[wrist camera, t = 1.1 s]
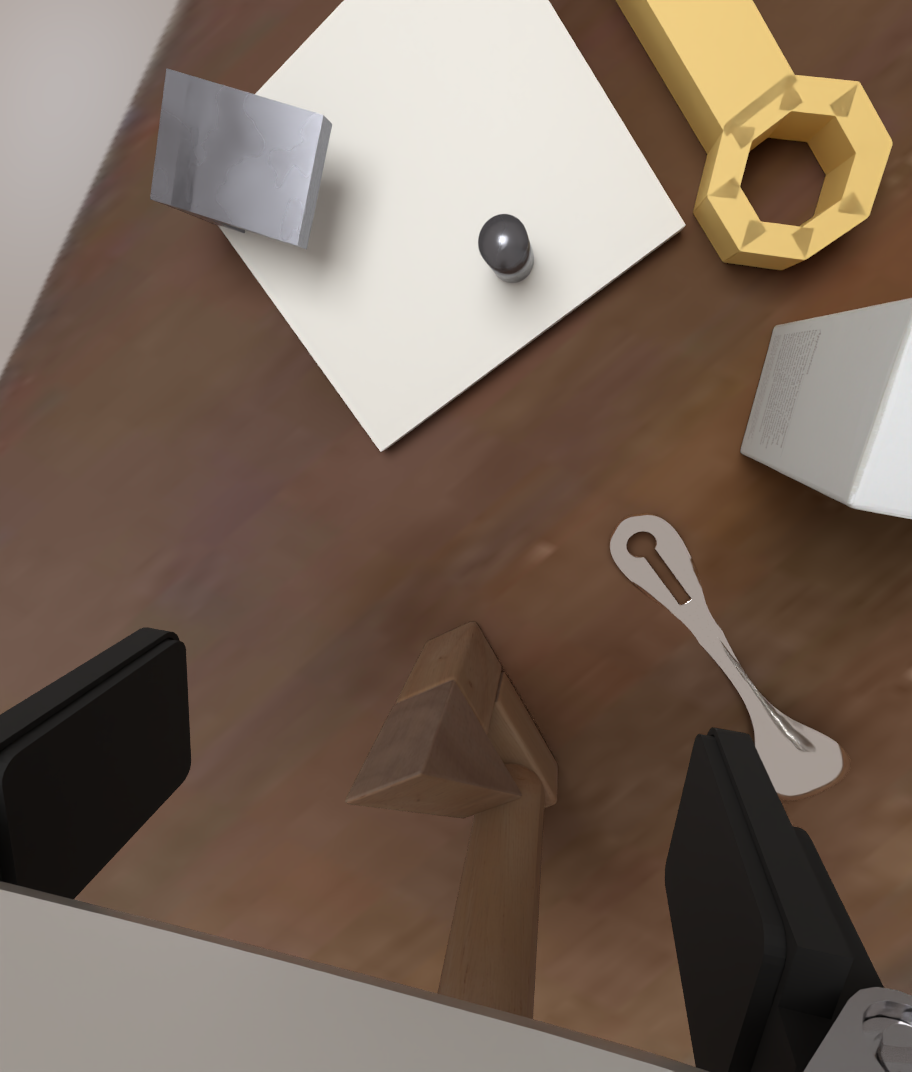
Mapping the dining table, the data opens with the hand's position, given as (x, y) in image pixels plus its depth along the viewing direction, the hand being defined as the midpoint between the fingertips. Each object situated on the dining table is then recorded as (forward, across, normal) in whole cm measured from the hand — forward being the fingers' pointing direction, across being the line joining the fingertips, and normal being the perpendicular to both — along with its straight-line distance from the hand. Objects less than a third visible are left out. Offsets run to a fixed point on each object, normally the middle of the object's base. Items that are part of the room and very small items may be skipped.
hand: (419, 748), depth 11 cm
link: (+24, -7, -18) cm, 31 cm away
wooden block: (+24, 0, +14) cm, 27 cm away
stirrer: (+24, -12, +8) cm, 28 cm away
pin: (+24, +2, -11) cm, 26 cm away
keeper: (+23, +14, -14) cm, 30 cm away
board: (+24, +7, -14) cm, 28 cm away
